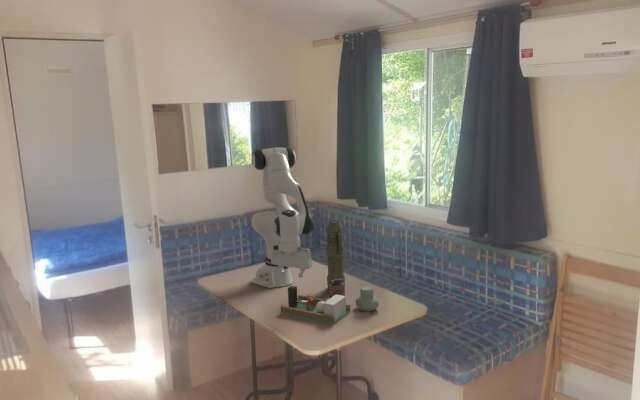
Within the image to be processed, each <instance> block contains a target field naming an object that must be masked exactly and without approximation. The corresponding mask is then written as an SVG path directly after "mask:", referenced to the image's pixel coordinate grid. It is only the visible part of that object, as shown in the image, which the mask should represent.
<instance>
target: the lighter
mask: <svg viewBox="0 0 640 400" xmlns="http://www.w3.org/2000/svg"><path fill="white" fill-rule="evenodd" d="M338 282H339V283H338ZM341 282H344V280H343V279H338V280H337V279H334V280H331V284H330V285H329V291H328V293H329V298H328V300H329V299H330V298H331V297H333V296H334V295H342V296H346V282H345V283H341Z"/></svg>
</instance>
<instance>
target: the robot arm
mask: <svg viewBox="0 0 640 400" xmlns="http://www.w3.org/2000/svg"><path fill="white" fill-rule="evenodd" d="M252 154H253V155H252V158H251V161H252V165H253V167H254V168H255V169H256V170H258V171H262V187H263V188H262V189H263V199H264V200H265V202H267V204H268V203H269V204H271V205H273V206H275V207H276V210H269V211H267V210H265V211H261V212H257V213H254V215H253V216H252V219H251V226H252V229H253V230H254V231H255V232H256V233H258V234H259V235H261V237H262V238H263V240H264V241H265V244H266V250H267V256H266V257H265V258H264V259H263V261H264V264H263V265H262V266H260V267H259V268H258V269H256V271H255V277H253V278H252V279H251V282H250V283H251V284H253V285H257V286H261V287H264V288H269V289H271V288H272V289H273V288H279V287H280V288H281V287H286V286H289V285H290V286H291V284H293V283H294V280H293V277H292V273H291V268H296V269H299V270H300V272H299V273H298V274H297V275H298V276H297V277H298V278H303V277H304V272H305V271H306V270H308V269H310V268H311V267H312V266H313V261H312V252H311V250H310V249H309V248H308V247H301V238H300V235H302V236H303V235H304V236H305V235H306V236H307V235H309V234H311V233H312V232H313V231H314V229H315V221H314V219H313V216H312V213H311V212H310V209H309V207H308V203H307V201H306V198H305V195H304V192H303V190H302V186H301V185H300V183H299V182H298V181H297V182H296V181H295V180H294V178H293V177H292V174H291V168H293V167H294V166H295V164H296V161H297V158H296V157H297V156H296V152H295V150H294V149H293V148H292V147H291V148H290V147H269V148H262V149H261V148H260V149H256V150H255V151H254V152H253V153H252ZM287 196H289V197H291V198H293V199H294V200H295V202H296V206H297V209H298V210H296V209H295V208H294V207H293V206H292V205H290V202H289V200H288V199H287ZM280 236H281V237H280Z"/></svg>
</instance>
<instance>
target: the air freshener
mask: <svg viewBox="0 0 640 400" xmlns="http://www.w3.org/2000/svg"><path fill="white" fill-rule="evenodd" d="M359 293H360V295H359V296H357V298H356V299H355V305H356V308H357V309H358V310H360V311H361V312H373V311H375V310H376V309H378V307H379V306H380V305H379V304H380V303H379V300H378V299H377V297H376V296H374V287H372V286H369V285H366V286H361V287H360V289H359Z"/></svg>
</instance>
